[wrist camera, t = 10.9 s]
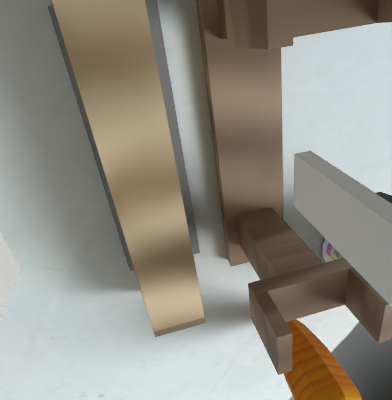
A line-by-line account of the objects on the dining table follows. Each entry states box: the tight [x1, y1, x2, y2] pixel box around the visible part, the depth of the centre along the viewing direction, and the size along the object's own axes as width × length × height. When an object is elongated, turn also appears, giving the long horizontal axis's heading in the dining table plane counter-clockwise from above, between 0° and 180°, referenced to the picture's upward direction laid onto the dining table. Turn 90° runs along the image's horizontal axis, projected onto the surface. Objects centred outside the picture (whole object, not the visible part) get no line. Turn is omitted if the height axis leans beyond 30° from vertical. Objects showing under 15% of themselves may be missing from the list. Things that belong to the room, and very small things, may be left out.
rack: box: [196, 0, 392, 375], centre depth 19 cm, size 23×7×12 cm, turn 9°
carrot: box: [284, 319, 362, 400], centre depth 27 cm, size 5×5×15 cm
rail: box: [52, 0, 206, 337], centre depth 21 cm, size 25×4×4 cm, turn 9°
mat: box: [48, 0, 200, 270], centre depth 23 cm, size 19×6×1 cm, turn 9°
